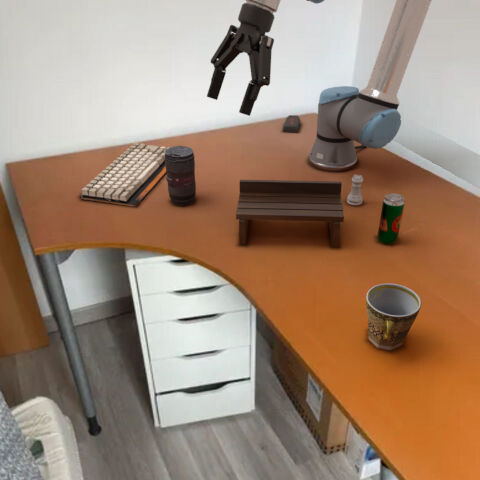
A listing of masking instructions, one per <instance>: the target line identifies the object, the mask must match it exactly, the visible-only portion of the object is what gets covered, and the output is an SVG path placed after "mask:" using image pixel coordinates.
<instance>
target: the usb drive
mask: <svg viewBox="0 0 480 480" xmlns="http://www.w3.org/2000/svg"><path fill="white" fill-rule="evenodd" d="M300 124H301V118H300V116H299V115H294V114H293V115H292V114H290V115H288V116H287V117H286V118H285V120H284V124H283V127H282V132H283V133H298V132H299V128H300Z"/></svg>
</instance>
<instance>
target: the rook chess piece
mask: <svg viewBox="0 0 480 480" xmlns="http://www.w3.org/2000/svg"><path fill="white" fill-rule="evenodd" d="M351 181H352V183H351V189H350V193H349V194H348V195H347V198H346V202H347V204H348V205H349V206H352V207H356V206H360V205H362V203H363V201H364V198H363V195H362V186H363V184H362V183H363V182H364V178H363V175H361V174H354V175H352V178H351Z"/></svg>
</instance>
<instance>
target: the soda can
mask: <svg viewBox="0 0 480 480" xmlns="http://www.w3.org/2000/svg"><path fill="white" fill-rule="evenodd" d="M405 204H406V201H405V197H404V196H403V195H402V194H400V193H395V192H394V193H393V192H392V193H386V195H385V196H384V198H383V200H382V206H381V209H380V210H381V211H380V217H379V223H378V227H377V228H378V230H377V235H376V239H377V240H378V242H379V243H381V244H384V245H393V244H395V243H396V242H398V239H399V236H400V235H399V234H400V229H401V224H402V219H403V215H404V210H405Z"/></svg>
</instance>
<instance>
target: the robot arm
mask: <svg viewBox="0 0 480 480" xmlns="http://www.w3.org/2000/svg"><path fill="white" fill-rule="evenodd" d="M244 1H245V2H243V3H242V4H241V6H240V7H241V8H240V11H239V14H238V17H237V20H238V22H239V23H240V25H239V27H238V26H237V25H233V24H230V26H229V28H228V30H227V33H226V35H225V36H224V38H223V40H222V41H221V42H220V44H219V45H218V47H217V49H216V50H215V52H214V54H213V56H212V57H211V59H210V64H212V65H213V68H214V69H213V71H212V76H211V79H210V84H209V88H208V90H207V94H206V97H207V98H209V99H212V100H216V101H217V100H218V99H219V96H220V92H221V89H222V86H223V83H224V80H225V77H226V75H227V74H226V73H227V68H228V67H229V66H230V65H231V64H232V62H233V61H234V60H235V59H236V58H237V57H238V56H239V55H240V54H243V53H244V54H247V56H248V61H249V69H250V76H251V80H250V81H249V82H248V83H247V87H246V90H245V93H244V96H243V98H242V102H241V105H240V107H239V111H238V113H239V114H242V115H246V116H249V117H250V116H251V114H252V111H253V108H254V105H255V102H256V101H257V100H258V97H259V94H260V91H261V89H262V87H263V86H266V87H268V86H270V84H271V70H272V52H273V51H272V50H273V46H274V42H275V39H274V38H273V37H271V36H268V35H266V34H267V33H270V32H271V31H272V27H273V24H274V20H275V15H274V13H278V10H279V7H280V4H281V1H282V0H244ZM306 1H307V2H311V3H313V4H316V5H317V4H321V3H323V2H325V0H306ZM432 1H433V0H395V3H394V6H393V9H392V12H391V15H390V18H389V21H388V24H387V27H386V30H385V33H384V36H383V39H382V42H381V44H380V48H379V51H378V54H377V55H376V59H375V62H374V65H373V68H372V71H371V74H370V77H369V79H368V83H367V85H366V87H365V88H363V89H361V90H360V89H359V88H358V87H356V86H350V85H349V86H348V85H343V86H341V85H340V86H333V87H332V86H331V87H328V88H325V89H323V90H322V91H321V92H320V94H319V99H318V104H317V119H316V120H317V121H316V123H317V124H316V137H315V140H314V143H313V145H312V146H311V150H310V152H309V156H308V163H309V164H310V165H311V167H314V168H315V169H318V170H321V171H325V172H344V171H350V170H351V169H353V168H355V167H356V165H357V164H358V163H357V162H358V155H357V151H356V150H359V149H364V148H367V147H368V148H370V149H375V150H377V149H378V150H379V149H381V148H383V147H385V146H387V145H388V144H390V143H391V142H392V141H393V140H394V138H395V137H396V136H397V134H398V133H399V131H400V128H401V125H402V116H401V114H400V113H401V112H399V110H398V109H399V106H400V100H399V98H398V93H399V90H400V87H401V84H402V83H403V82H402V81H403V79H404V77H405V74H406V71H407V68H408V66H409V63H410V60H411V58H412V55H413V52H414V49H415V46H416V45H417V41H418V38H419V35H420V33H421V31H422V27H423V24H424V22H425V19H426V16H427V14H428V12H429V9H430V5H431V3H432ZM355 142H356V143H359V144H360V145H355Z"/></svg>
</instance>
